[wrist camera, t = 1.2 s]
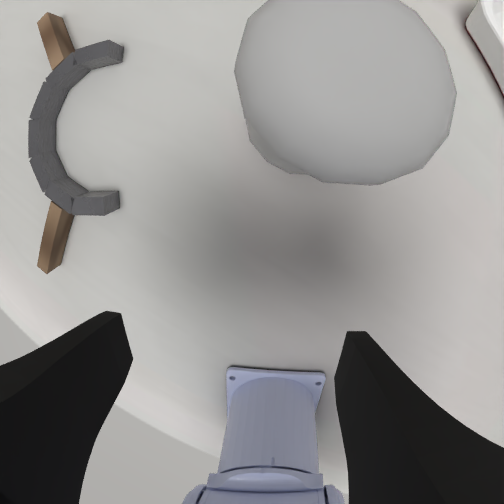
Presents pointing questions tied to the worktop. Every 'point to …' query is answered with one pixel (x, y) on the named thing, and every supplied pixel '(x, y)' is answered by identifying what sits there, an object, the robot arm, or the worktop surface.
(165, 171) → the worktop surface
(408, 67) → the salt shaker
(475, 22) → the pan
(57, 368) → the robot arm
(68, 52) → the hinge leaves
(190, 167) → the worktop surface
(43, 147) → the silver segmented arch
